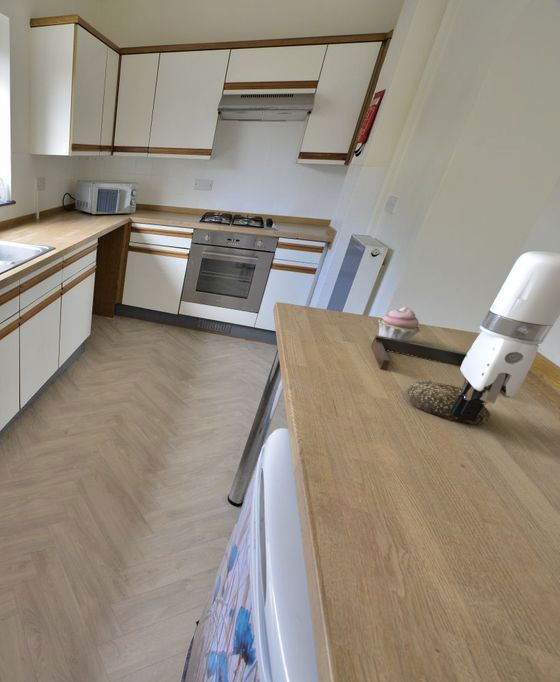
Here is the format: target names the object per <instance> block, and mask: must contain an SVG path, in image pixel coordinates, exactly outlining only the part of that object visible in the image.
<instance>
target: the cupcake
mask: <svg viewBox="0 0 560 682" xmlns="http://www.w3.org/2000/svg"><path fill="white" fill-rule="evenodd" d="M377 320H378V326H379V328H378V335H377V336H383V337H388V338H393V339H398V340H403V341H408V342H410V341H411V340H412V338H413V337H415V335H417V334H418V333H420V332H421V329H420V327H419V319H418V318H417V317H416V313H415V312H414V311H413V310H412V309H411V308H409V307H407V306H404V307H401V308H399V309H393V310H390V311H388V312H387V313H386V314H385V315H384V316H382V318H381V319H379V318H378V319H377Z"/></svg>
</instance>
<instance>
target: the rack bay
mask: <svg viewBox="0 0 560 682" xmlns="http://www.w3.org/2000/svg"><path fill="white" fill-rule="evenodd" d="M371 345H372V347H371V349H372V348H373V349H372V352H373V351H374V352H373V354H374V353H375V354H374V357H375V356H376V357H375V359H376V362H377V361H378V362H377V364H379V365H378V367H379V369H380V370H382V369H383V370H382V371H387V369H388V368H389V365H390V364H391V359H390V357H389V355H388V353H387V351H385V350H389V351H393V352H392V353H394V352H399V353H404V354H409V355H413V356H417V357H416V358H418V357H422V358H421V359H423V358H427V359H426V360H428V359H431V360H430V361H433V360H436V361H435V362H438V361H440V362H439V363H442V362H443V364H447V363H448V365H452V364H453V365H454V366H457V365H458V367H461V365H462V362H463V360H464V358H465V357H466V355H467V353H468V352H463V351H458V350H454V349H449V348H444V347H438V346H434V345H428V344H423V343H417V342H412V341H409V342H408V341H403V340H398V339H393V338H388V337H383V336H378V335H377V334H376V335H375V336H374V338H373V341H372V343H371ZM389 351H388V352H389ZM399 353H398V354H399ZM404 354H403V355H404ZM409 355H408V356H409ZM413 356H412V357H413ZM453 365H452V366H453Z"/></svg>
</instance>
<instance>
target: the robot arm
mask: <svg viewBox="0 0 560 682" xmlns="http://www.w3.org/2000/svg"><path fill="white" fill-rule="evenodd" d="M559 317H560V253H559V252H554V251H552V252H551V251H542V250H540V251H539V250H533V251H526V252H525V253H522V254H521V255H520V256H519V257H518V258H517V260H516V261H515V263H514V264H513V266H512V268H511V270H510V272H509V273H508V276H507V277H506V279H505V281H504V282H503V285H502V286H501V288H500V290H499V291H498V293H497V295H496V297H495V298H494V301H493V303H492V305H491V306H490V308H489V309H488V311H487V314H486V316H485V317H484V319H483V321H482V323H481V324H480V325H479V329H480V330H481V332H480V333H479V334H478V335H477V337H476V339H475V340H474V342H473V343H472V345H471V347H470V348H469V349H468V351H467V352H466V353H467V355H466V357H465V358H464V360H463V362H462V365H461V366H460V372H461V374H462V376H463V378H464V381H463V384H462V386H461V390H460V394H462V395H459V396H458V397H457V399H456V401H455V403H454V404H453V406H452V408H451V410H450V413H451V414H452V416H453V417H456V418H460V419H464V420H468V421H475V419H476V418H477V416H478V414H479V413H480V411H481V409H482V408H483V406H485V405H487V404H488V403H489V404H495V403H496V401H497V399H498V396H499V394H502V396H503V397H504V398H507V399H512V398H514V397H515V396H516V394H517V393H518V391H519V389H520V388H521V386H522V385H523V382H524V380H525V379H526V377H527V375H528V373H529V371H530V369H531V368H532V365H533V362H534V360H535V358H536V355H537V353H538V351H539V345H541V344H542V343H544V340H545V339H546V338H547V336H548V334H549V333H550V331H551V330H552V329H553V327H554V326H555V323H556V322H557V320H558V318H559Z"/></svg>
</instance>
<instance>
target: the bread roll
mask: <svg viewBox="0 0 560 682" xmlns="http://www.w3.org/2000/svg"><path fill="white" fill-rule="evenodd" d="M461 388H462V386H456V385H451V384H447V383H441V382H436V381H431V380H428V379H427V380H420V381H416V382H412V383H411V384H410V386H408V388H407V396H408V399H409V403H410V404H411V405H413V406H414V407H416V408H417V409H420V410H422V411H424V412H426V413H429V414H432V415H435V416H438V417H440V418H442V419H445V420H448V421H449V420H450V421H456V422H461V423H465V424H469V425H473V426H479V425H482V424H485V423H486V422H487V421H488V419H489V418H491V413H490V411H489V409H488V408H487V407H486V406H485V405H484V406H483V408H482V409H481V411H480V413H479V414H478V416H477V418H476V419H475V421H468V420H464V419H460V418H456V417H453V416H452V414H451V413H450V410H451V408H452V406H453V404H454V403H455V401H456V399H457V397H458V396H459V395H462V394H460V390H461Z"/></svg>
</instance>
